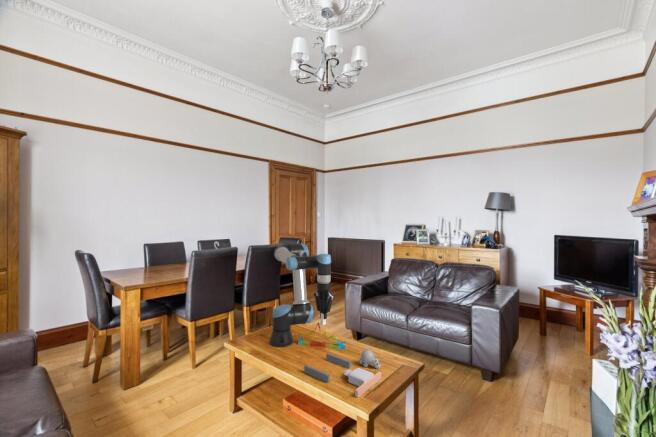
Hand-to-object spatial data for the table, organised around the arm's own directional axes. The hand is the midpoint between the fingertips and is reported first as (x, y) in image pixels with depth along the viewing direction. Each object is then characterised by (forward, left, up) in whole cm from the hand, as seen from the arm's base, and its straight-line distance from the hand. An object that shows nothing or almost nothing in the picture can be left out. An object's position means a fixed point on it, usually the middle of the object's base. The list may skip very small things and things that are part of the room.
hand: (323, 324), depth 170 cm
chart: (-16, +19, -23) cm, 34 cm away
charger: (+23, -2, -23) cm, 33 cm away
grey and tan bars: (+15, -3, -22) cm, 27 cm away
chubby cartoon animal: (+22, +15, -23) cm, 35 cm away
